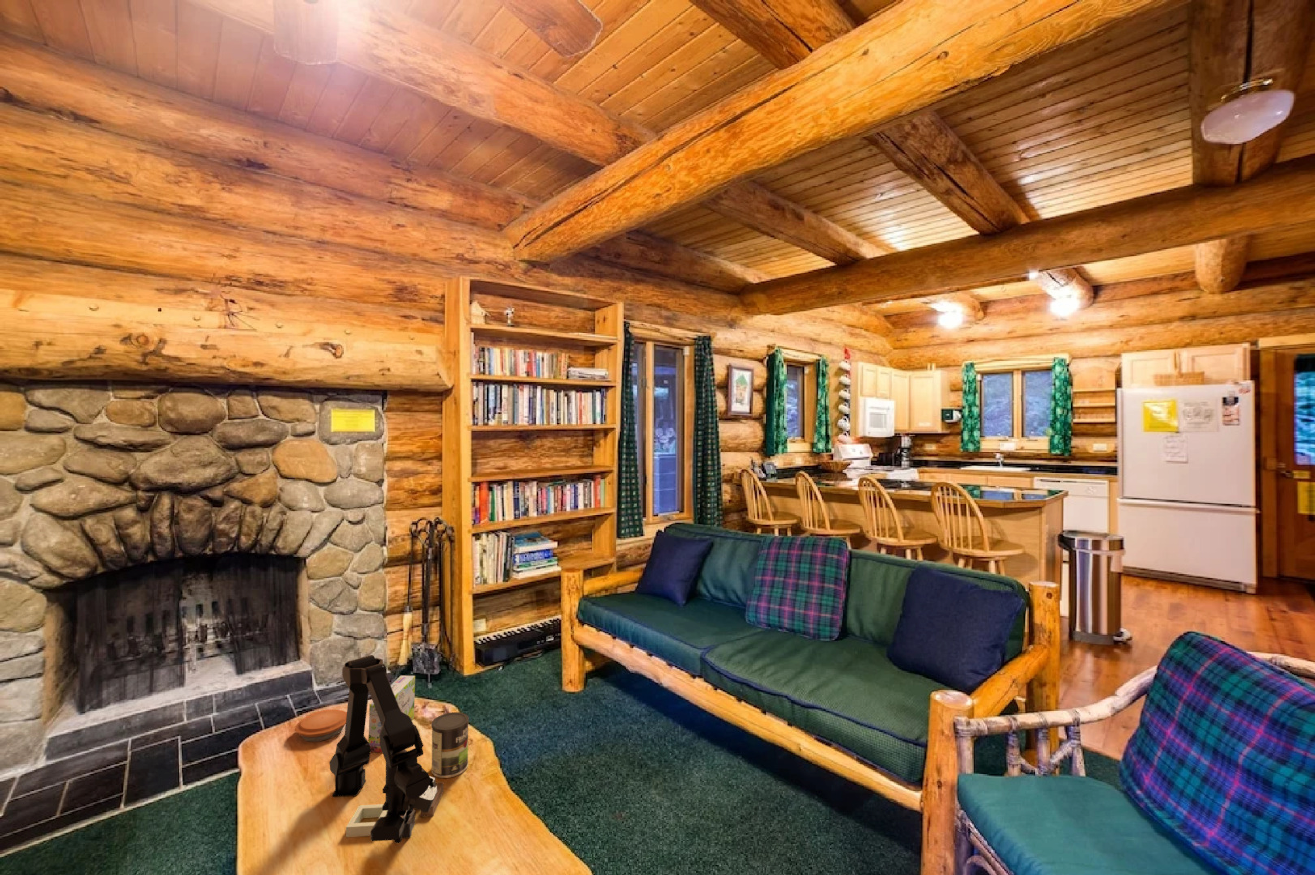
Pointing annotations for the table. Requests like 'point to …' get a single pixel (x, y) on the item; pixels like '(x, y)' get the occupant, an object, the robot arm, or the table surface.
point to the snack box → (405, 700)
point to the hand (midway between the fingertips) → (398, 842)
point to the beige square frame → (363, 811)
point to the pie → (321, 725)
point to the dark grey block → (409, 826)
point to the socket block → (436, 800)
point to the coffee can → (449, 744)
